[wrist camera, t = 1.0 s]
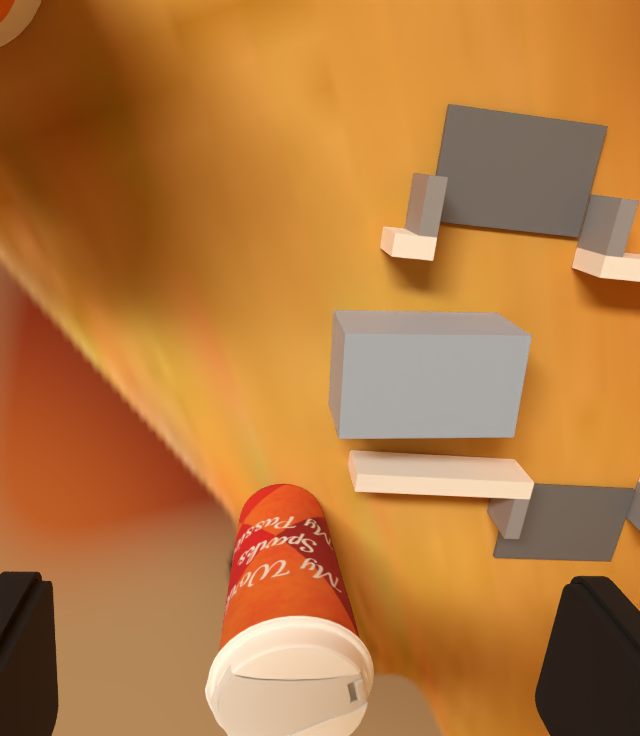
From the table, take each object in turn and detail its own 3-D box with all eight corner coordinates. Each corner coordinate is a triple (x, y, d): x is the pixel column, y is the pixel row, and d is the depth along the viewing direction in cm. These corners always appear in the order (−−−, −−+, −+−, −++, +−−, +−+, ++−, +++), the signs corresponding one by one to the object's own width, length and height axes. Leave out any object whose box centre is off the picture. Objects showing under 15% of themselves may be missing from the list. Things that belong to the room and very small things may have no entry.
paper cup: (328, 458, 37) (367, 623, 24) (346, 554, 40) (388, 748, 27) (209, 482, 37) (182, 661, 24) (235, 576, 40) (223, 783, 27)
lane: (402, 98, 30) (417, 92, 27) (803, 154, 33) (852, 154, 31) (335, 550, 40) (341, 580, 37) (651, 560, 43) (678, 588, 40)
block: (333, 309, 34) (345, 333, 29) (495, 311, 35) (531, 335, 30) (328, 402, 36) (338, 438, 31) (481, 402, 37) (514, 437, 33)
